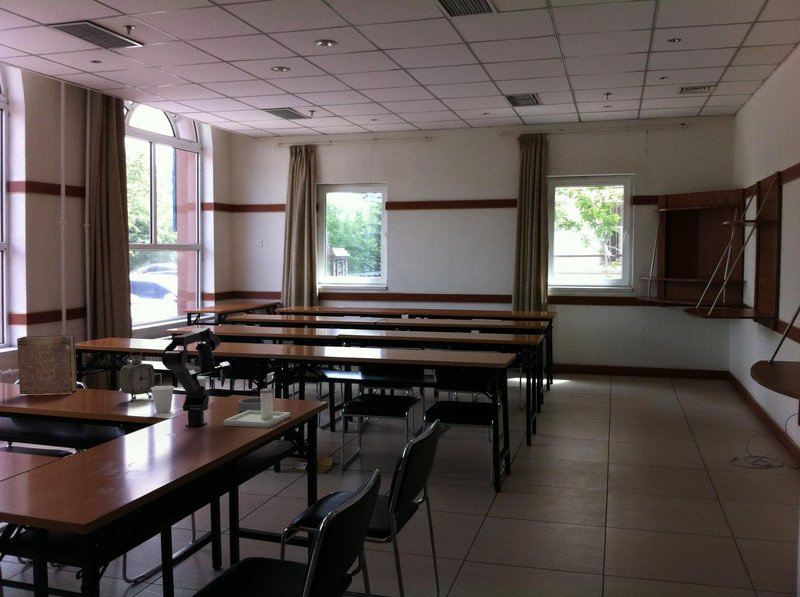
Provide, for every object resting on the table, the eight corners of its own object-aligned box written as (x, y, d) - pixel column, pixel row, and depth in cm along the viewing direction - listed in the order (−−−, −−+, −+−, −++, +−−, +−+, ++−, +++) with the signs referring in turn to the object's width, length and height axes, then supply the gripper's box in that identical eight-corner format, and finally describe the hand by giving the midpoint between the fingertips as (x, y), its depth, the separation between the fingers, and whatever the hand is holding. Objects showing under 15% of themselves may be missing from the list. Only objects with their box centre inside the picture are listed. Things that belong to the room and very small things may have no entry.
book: (77, 391, 370) (75, 334, 369) (72, 394, 361) (70, 336, 360) (25, 393, 366) (23, 336, 364) (19, 396, 357) (16, 338, 355)
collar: (261, 413, 307) (260, 404, 307) (232, 411, 311) (232, 402, 311) (275, 406, 321) (275, 398, 320) (248, 405, 325) (248, 397, 324)
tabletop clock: (131, 403, 334) (129, 351, 333) (118, 401, 339) (116, 350, 337) (155, 398, 347) (153, 348, 345) (143, 396, 351) (141, 347, 350)
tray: (267, 427, 280) (267, 422, 279) (223, 425, 285) (223, 420, 285) (290, 417, 299) (290, 412, 299) (248, 414, 305) (248, 410, 304)
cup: (167, 414, 308) (166, 389, 307) (147, 413, 310) (146, 389, 309) (179, 409, 318) (178, 385, 317) (159, 409, 320) (158, 385, 319)
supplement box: (205, 402, 334) (204, 376, 333) (206, 405, 327) (205, 378, 326) (189, 403, 331) (188, 377, 331) (190, 406, 324) (189, 379, 324)
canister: (261, 419, 291) (260, 391, 290) (260, 417, 296) (259, 389, 295) (274, 418, 292) (273, 390, 291) (272, 416, 297) (272, 388, 296)
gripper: (223, 345, 306) (228, 377, 311) (179, 355, 298) (185, 388, 303) (229, 353, 296) (235, 386, 301) (184, 363, 288) (191, 398, 293)
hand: (211, 389), depth 300 cm, fingers open, 9 cm apart
